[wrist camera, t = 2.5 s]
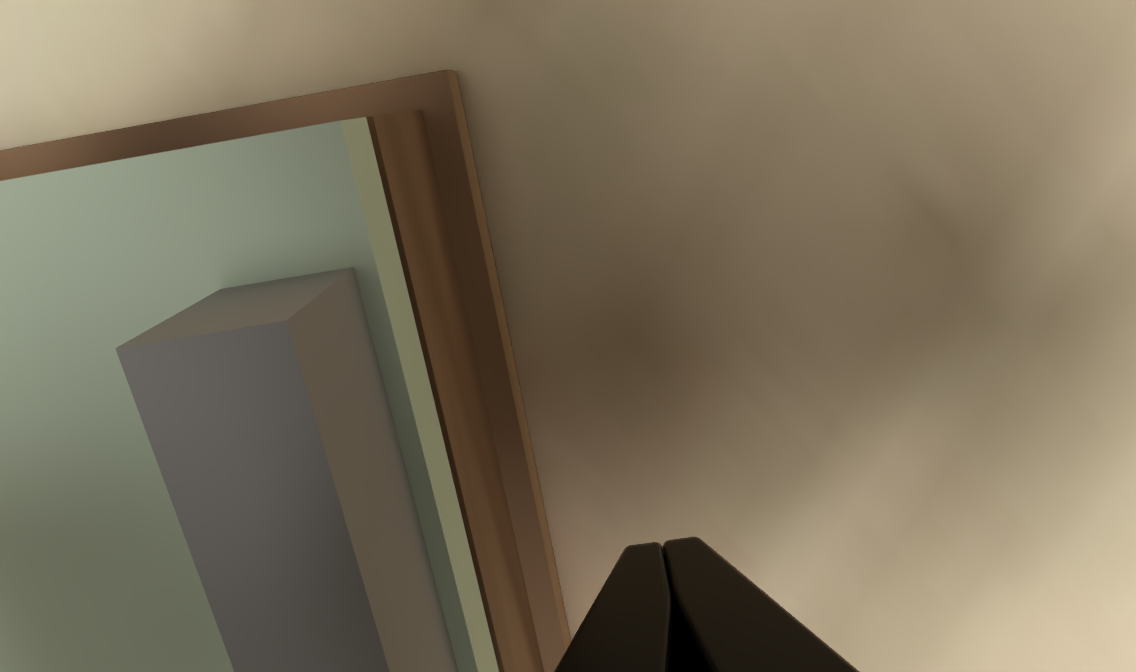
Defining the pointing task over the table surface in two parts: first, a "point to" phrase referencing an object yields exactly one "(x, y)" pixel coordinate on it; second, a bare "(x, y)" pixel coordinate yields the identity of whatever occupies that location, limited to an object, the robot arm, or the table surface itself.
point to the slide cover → (222, 422)
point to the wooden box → (419, 320)
